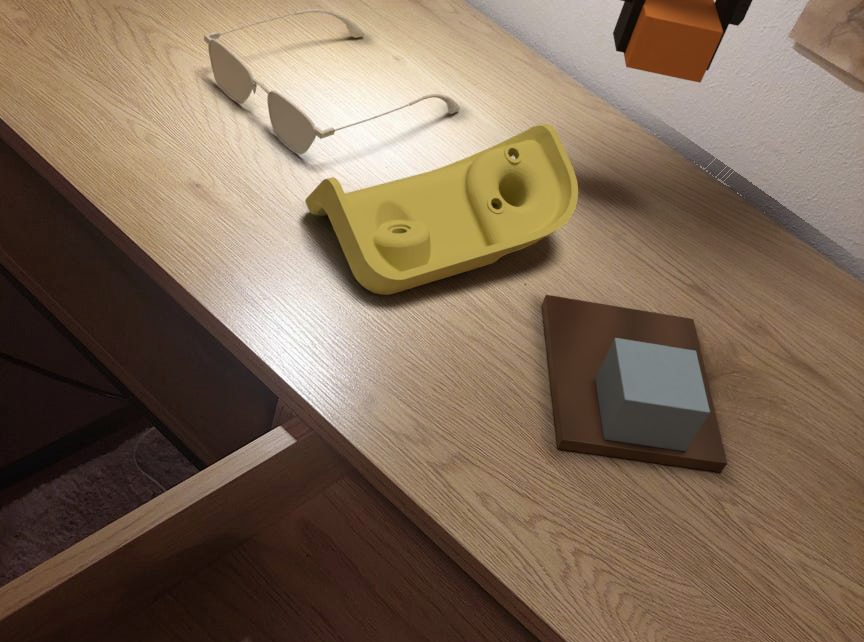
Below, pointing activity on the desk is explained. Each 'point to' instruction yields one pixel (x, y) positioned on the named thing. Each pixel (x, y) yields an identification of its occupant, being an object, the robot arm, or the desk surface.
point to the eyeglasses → (283, 113)
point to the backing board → (581, 361)
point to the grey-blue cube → (651, 395)
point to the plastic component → (452, 213)
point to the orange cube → (675, 38)
